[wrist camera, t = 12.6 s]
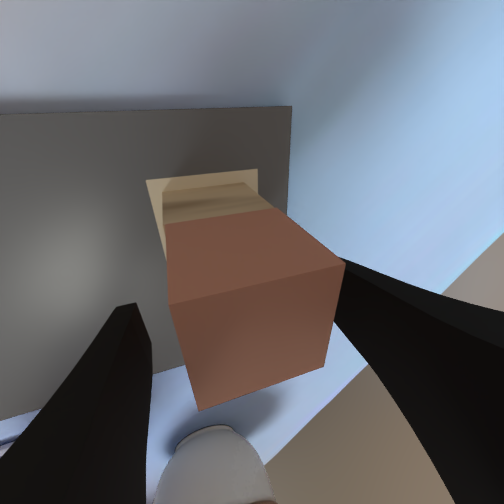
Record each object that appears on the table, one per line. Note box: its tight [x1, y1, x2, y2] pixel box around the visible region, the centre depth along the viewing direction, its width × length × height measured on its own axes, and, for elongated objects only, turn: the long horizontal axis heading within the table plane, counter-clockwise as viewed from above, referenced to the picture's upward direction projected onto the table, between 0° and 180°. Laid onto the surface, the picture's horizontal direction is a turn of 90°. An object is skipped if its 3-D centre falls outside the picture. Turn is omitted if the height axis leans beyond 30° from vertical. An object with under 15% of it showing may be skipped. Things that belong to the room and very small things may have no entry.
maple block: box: [162, 182, 274, 237], centre depth 12 cm, size 4×4×4 cm
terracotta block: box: [165, 208, 346, 411], centre depth 9 cm, size 4×4×4 cm
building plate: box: [0, 106, 292, 421], centre depth 15 cm, size 18×22×1 cm
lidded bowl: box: [153, 425, 277, 504], centre depth 24 cm, size 13×13×11 cm
